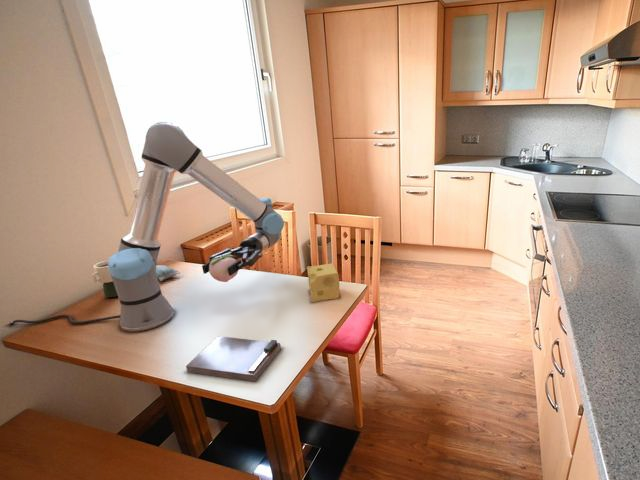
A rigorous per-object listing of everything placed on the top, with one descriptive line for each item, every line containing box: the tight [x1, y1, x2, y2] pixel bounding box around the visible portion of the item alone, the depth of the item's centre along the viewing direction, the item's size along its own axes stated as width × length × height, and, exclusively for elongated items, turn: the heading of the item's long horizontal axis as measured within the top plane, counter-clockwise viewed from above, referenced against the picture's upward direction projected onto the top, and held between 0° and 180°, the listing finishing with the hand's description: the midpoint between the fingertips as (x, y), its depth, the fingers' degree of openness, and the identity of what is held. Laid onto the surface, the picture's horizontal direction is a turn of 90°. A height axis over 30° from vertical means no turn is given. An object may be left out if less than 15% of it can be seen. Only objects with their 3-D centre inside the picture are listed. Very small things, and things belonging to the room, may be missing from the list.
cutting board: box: [185, 335, 282, 383], centre depth 104 cm, size 20×14×3 cm
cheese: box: [306, 263, 340, 303], centre depth 137 cm, size 10×11×10 cm
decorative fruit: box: [208, 254, 239, 283], centre depth 125 cm, size 9×8×10 cm
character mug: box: [91, 260, 118, 298], centre depth 141 cm, size 11×7×13 cm, turn 159°
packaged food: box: [156, 264, 181, 282], centre depth 156 cm, size 9×12×5 cm
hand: (216, 270), depth 121 cm, fingers closed on decorative fruit, 8 cm apart
